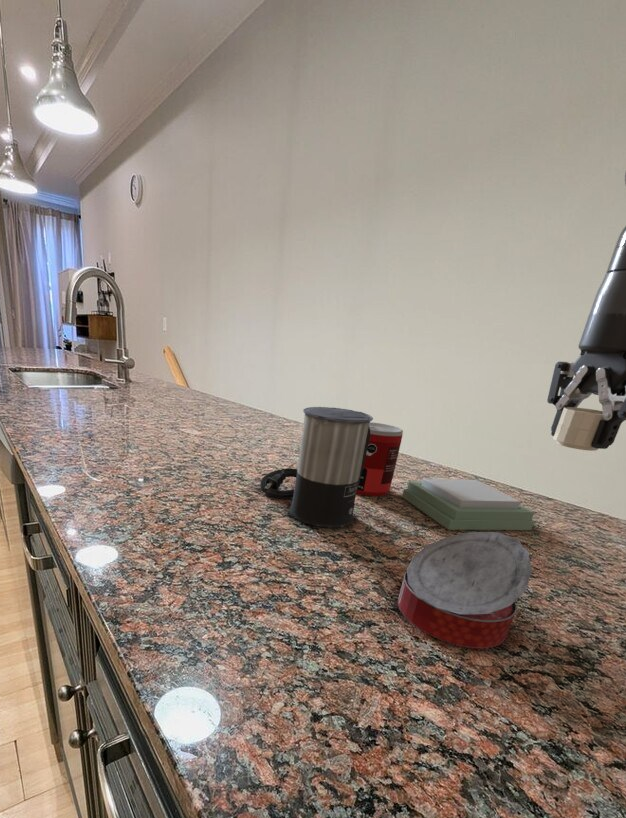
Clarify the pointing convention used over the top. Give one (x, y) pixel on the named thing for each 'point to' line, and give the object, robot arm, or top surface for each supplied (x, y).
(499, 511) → the scale
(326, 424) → the milk frother
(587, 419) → the beige short cylinder
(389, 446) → the canned food
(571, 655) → the top surface
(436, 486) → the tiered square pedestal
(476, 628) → the canned food
